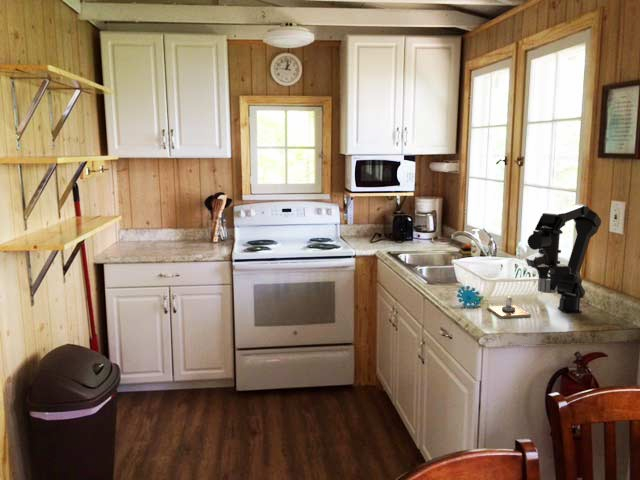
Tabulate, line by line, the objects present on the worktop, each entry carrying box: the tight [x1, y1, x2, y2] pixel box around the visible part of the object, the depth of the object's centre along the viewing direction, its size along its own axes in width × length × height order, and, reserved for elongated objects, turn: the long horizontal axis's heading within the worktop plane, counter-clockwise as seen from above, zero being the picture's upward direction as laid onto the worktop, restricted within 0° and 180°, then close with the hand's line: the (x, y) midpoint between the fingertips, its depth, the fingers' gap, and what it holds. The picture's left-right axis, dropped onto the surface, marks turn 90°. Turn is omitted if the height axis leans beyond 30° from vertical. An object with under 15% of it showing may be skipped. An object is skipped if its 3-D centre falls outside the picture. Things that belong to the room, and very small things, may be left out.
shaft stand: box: [486, 296, 532, 319], centre depth 214 cm, size 12×12×6 cm
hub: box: [537, 275, 557, 294], centre depth 205 cm, size 7×7×5 cm
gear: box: [456, 285, 485, 309], centre depth 225 cm, size 11×6×10 cm
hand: (547, 287), depth 206 cm, fingers closed on hub, 7 cm apart
